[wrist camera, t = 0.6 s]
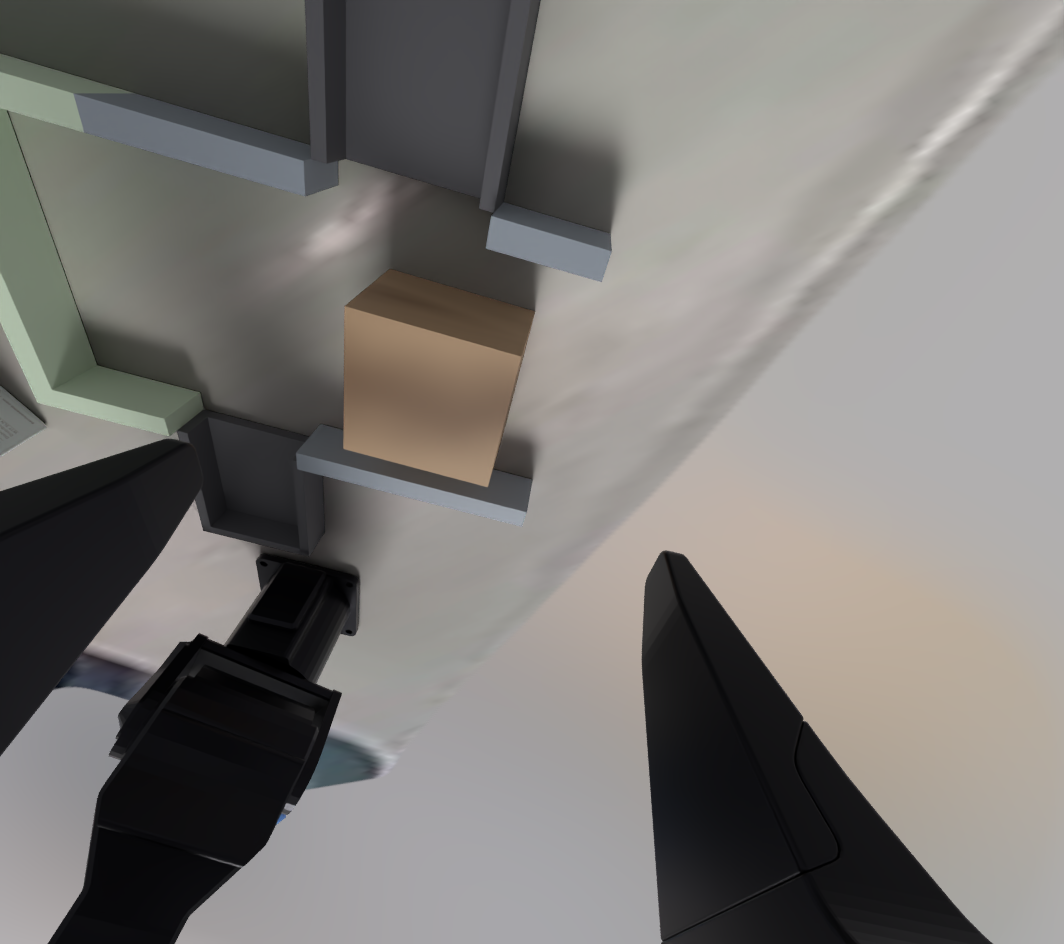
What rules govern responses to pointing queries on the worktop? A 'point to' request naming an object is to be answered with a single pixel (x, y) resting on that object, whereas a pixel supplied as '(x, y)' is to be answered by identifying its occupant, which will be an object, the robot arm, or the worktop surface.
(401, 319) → the walnut block
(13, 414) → the supplement box
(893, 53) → the worktop surface
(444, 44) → the box
